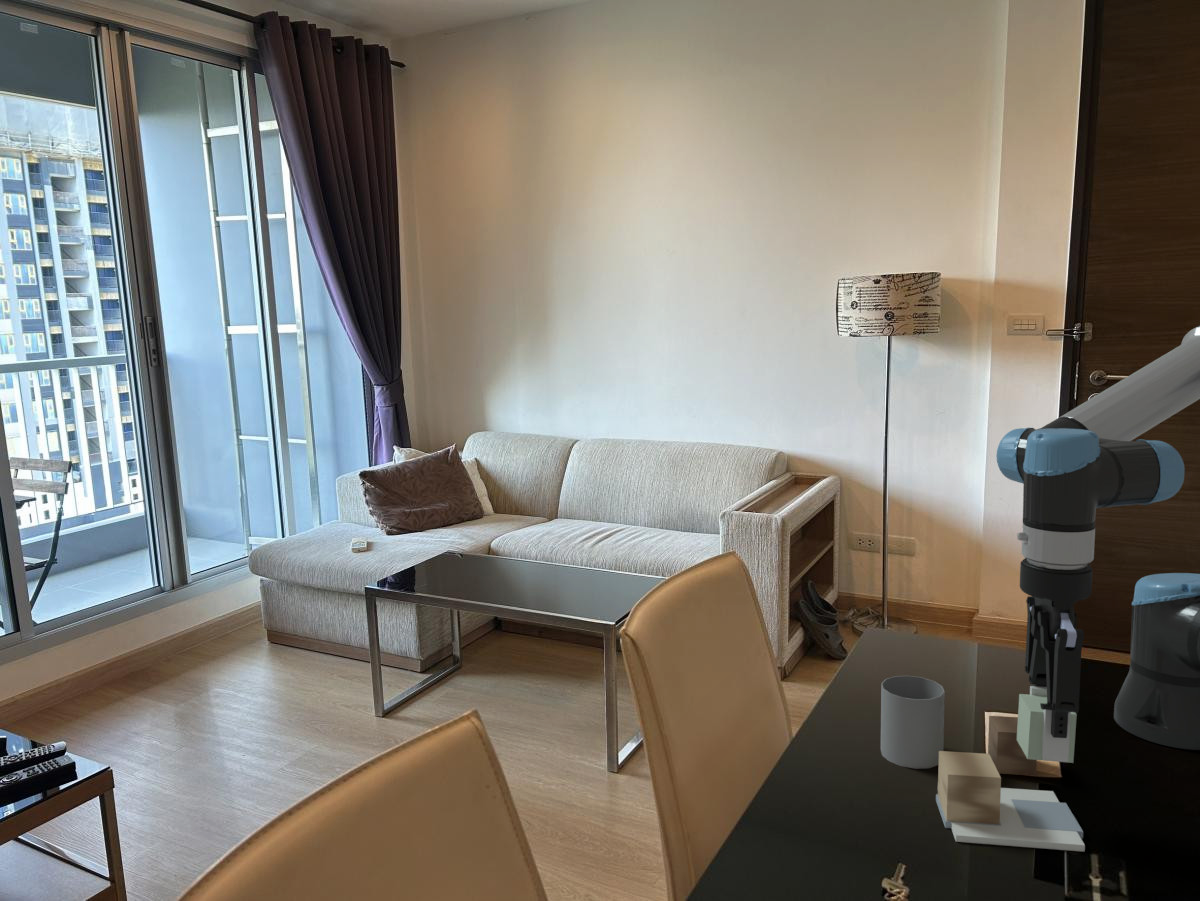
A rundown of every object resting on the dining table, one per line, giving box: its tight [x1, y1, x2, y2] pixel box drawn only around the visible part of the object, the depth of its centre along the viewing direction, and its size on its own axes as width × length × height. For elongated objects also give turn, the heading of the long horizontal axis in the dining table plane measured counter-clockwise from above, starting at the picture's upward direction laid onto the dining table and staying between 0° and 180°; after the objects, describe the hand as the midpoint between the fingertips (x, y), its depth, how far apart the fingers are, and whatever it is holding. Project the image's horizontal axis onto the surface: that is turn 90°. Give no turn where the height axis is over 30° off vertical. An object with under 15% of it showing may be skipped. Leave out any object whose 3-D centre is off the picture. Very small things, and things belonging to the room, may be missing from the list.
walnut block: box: [987, 715, 1038, 777], centre depth 121 cm, size 5×5×6 cm
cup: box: [880, 675, 946, 770], centre depth 125 cm, size 8×8×10 cm
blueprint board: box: [935, 787, 1086, 853], centre depth 108 cm, size 15×12×1 cm
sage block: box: [1017, 693, 1078, 764], centre depth 106 cm, size 5×5×6 cm
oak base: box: [937, 750, 1002, 825], centre depth 109 cm, size 6×6×6 cm
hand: (1047, 748), depth 106 cm, fingers closed on sage block, 5 cm apart
